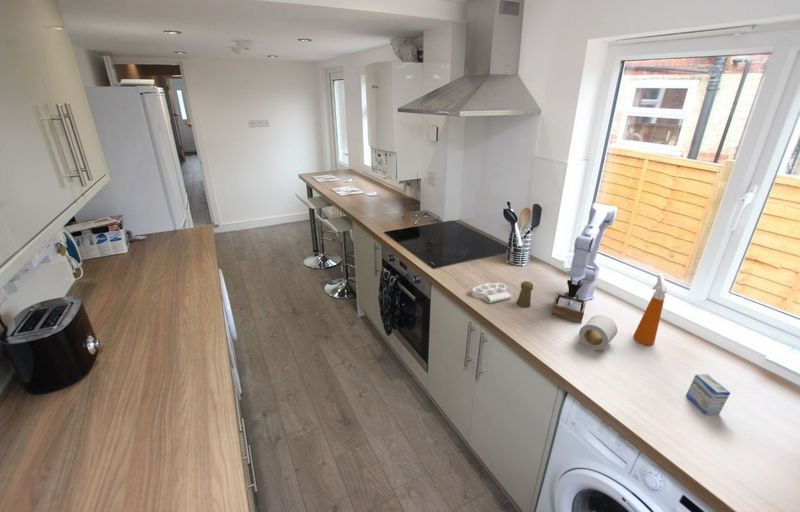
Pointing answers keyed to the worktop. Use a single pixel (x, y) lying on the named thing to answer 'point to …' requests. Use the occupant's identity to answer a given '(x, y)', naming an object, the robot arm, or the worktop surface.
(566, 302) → the plunger
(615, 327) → the toilet paper
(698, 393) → the medicine box
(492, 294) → the knuckle duster
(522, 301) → the brown tapered figure
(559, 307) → the frame
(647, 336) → the spray bottle
